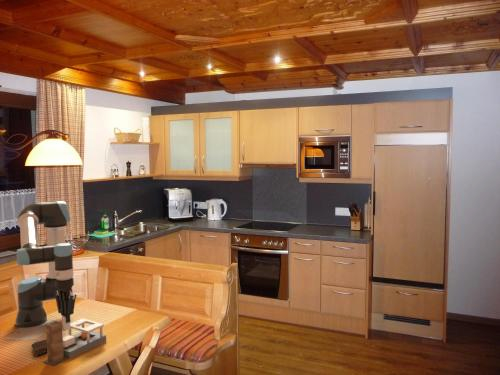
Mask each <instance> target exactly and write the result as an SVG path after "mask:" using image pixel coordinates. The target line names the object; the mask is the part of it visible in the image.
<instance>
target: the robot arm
mask: <svg viewBox="0 0 500 375" xmlns="http://www.w3.org/2000/svg"><path fill="white" fill-rule="evenodd" d="M70 218H71V217H70V212H69V207H68V205H67V203H66V201H61V200H59V201H58V200H57V201H56V200H54V201H43V202H42V201H41V202H34V203H30V204H28V205H26V206H25V207H23V209H21V211H20V212H19V214H18V215H17V225H18V227H19V231H20V248H19V249H17V250H16V263H17V265H18V266H29V265H36V264H37V265H38V264H46V263H48V273H47V274H46V275H45V278H42V277H41V276H34V277H33V276H32V277H29V278H25V279H23V280H21V281H20V282H19V283H17V291H16V292H17V303H18V306H17V307H18V311H17V313H16V317H15V321H14V322H15V326H16V327H19V328H29V327H35V326H36V327H37V326H39V325H41V324H42V325H43V324H44V323H45V322H46V321H47V320H48V314H47V312H46V310H45V308H44V303H43V302H44V301H45V302H48V301H51V300H52V301H53V300H55V303H56V307H57V312H58V314H60V315H61V323H62V331H68V329H70V323H71V316H72V315H73V314H74V310H75V305H76V304H75V303H76V299H77V294H76V293H73V286H74V285H75V284H74V280H75V278H74V265H73V263H74V262H73V245H72V243H68V242H66V241H65V236H66V235H65V234H66V233H65V228H66V227H68V223H70V222H71V219H70ZM38 225H43V228H44V229H46V235H47V236H46V237H47V245H46V246H45V245H44V246H40V241H39V232H38Z"/></svg>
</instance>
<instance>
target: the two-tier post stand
mask: <svg viewBox="0 0 500 375" xmlns="http://www.w3.org/2000/svg"><path fill="white" fill-rule="evenodd" d="M85 324H90V325H89V326H85ZM104 326H105V325H104V323H100V322H97V321H93V320H91V319H87V318H81V319H77V320H75V321H73V322H70V329H68V330H67V331H68V335H70V336H73V337H75V343H74V344H72V345H70V346H68V347H63V356H64V357H67V358H68V359H72V358H75V357H77V356H79V355H81V354H82V353H85V352H87V351H89V350H90V349H93V348H95V347H97V346H99V345H101V344H102V343H103V344H104V343H106V342H107V335H106V334H104V333H103V332H104V331H103V327H104ZM98 329H99V332H97V331H96V330H98ZM72 330H76V331H79V332H77V333H75V334H73V335H72ZM81 332H86V333H87V340H85V341H83V340H82V333H81ZM89 333H90V335H89Z"/></svg>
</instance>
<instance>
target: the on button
mask: <svg viewBox="0 0 500 375" xmlns="http://www.w3.org/2000/svg"><path fill="white" fill-rule="evenodd" d="M74 343H75V337H73V336H72V335H71V336H70V335H69V334H68V335H66V336H63V347H68V346H70V345H72V344H74ZM68 348H69V347H68Z"/></svg>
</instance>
